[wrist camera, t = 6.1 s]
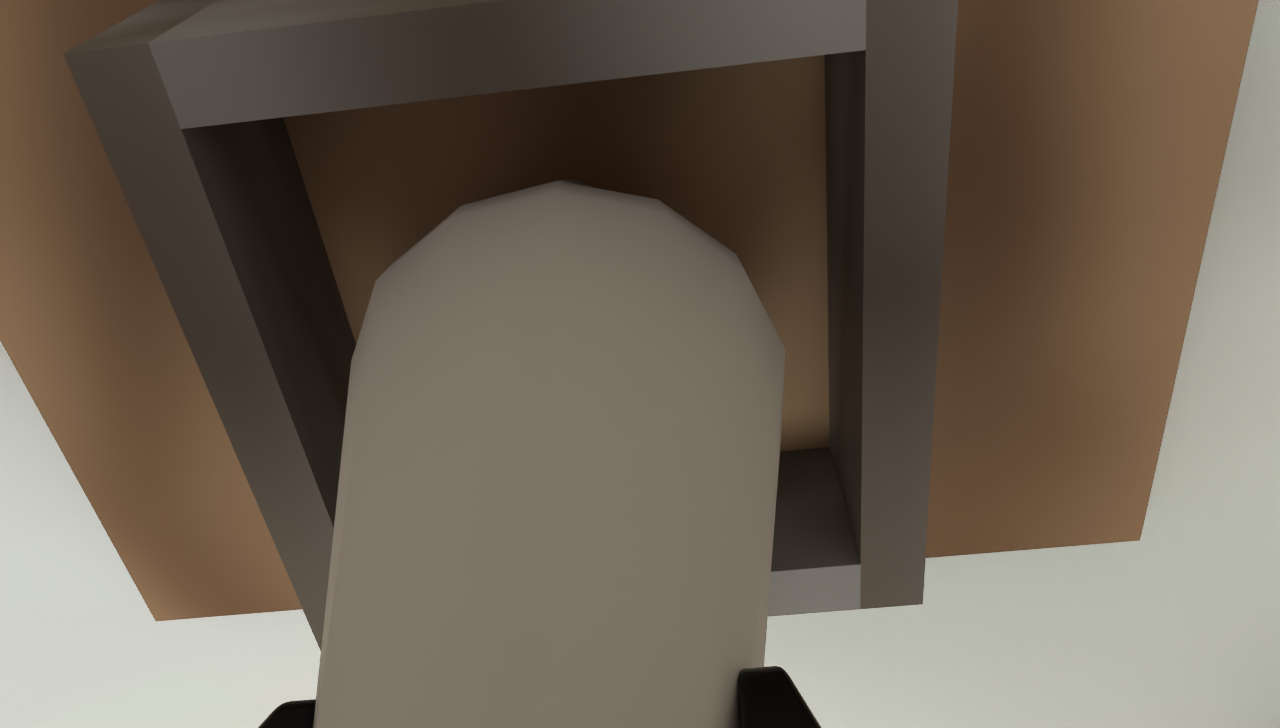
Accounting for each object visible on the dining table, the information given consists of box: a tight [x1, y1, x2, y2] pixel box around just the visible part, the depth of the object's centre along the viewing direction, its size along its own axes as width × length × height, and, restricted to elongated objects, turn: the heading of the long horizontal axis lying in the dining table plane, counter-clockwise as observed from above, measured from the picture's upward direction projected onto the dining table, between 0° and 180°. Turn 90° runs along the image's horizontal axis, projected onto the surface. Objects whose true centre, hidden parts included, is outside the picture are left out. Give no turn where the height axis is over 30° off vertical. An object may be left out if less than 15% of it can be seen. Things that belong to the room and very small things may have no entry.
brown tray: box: [0, 0, 1258, 650], centre depth 15 cm, size 20×14×4 cm
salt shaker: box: [313, 179, 785, 728], centre depth 10 cm, size 6×6×13 cm
